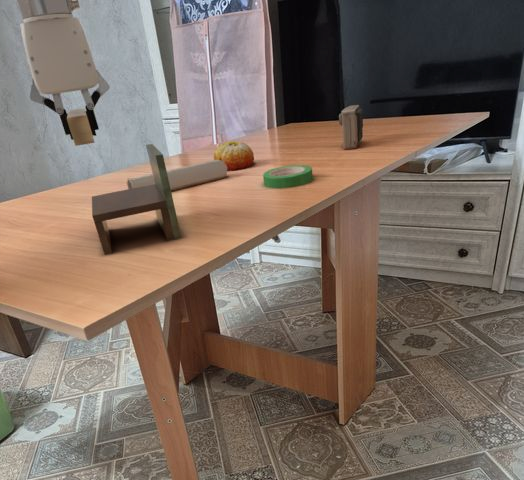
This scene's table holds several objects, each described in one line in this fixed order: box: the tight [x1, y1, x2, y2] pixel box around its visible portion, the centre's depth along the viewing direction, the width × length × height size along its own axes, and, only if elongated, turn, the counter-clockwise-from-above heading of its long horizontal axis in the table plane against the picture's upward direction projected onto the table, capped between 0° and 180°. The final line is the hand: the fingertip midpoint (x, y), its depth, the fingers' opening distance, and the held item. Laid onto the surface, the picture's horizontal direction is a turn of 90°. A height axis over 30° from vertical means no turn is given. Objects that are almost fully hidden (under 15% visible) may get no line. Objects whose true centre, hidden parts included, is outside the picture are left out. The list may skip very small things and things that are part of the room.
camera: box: [338, 104, 364, 150], centre depth 132 cm, size 11×6×10 cm, turn 162°
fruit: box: [213, 141, 255, 172], centre depth 127 cm, size 11×10×8 cm
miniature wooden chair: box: [91, 143, 182, 256], centre depth 82 cm, size 13×15×14 cm
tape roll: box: [262, 164, 314, 189], centre depth 105 cm, size 11×11×3 cm
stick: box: [67, 107, 95, 147], centre depth 82 cm, size 3×24×4 cm, turn 19°
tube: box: [126, 159, 228, 192], centre depth 114 cm, size 5×5×25 cm
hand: (83, 135), depth 83 cm, fingers closed on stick, 3 cm apart
